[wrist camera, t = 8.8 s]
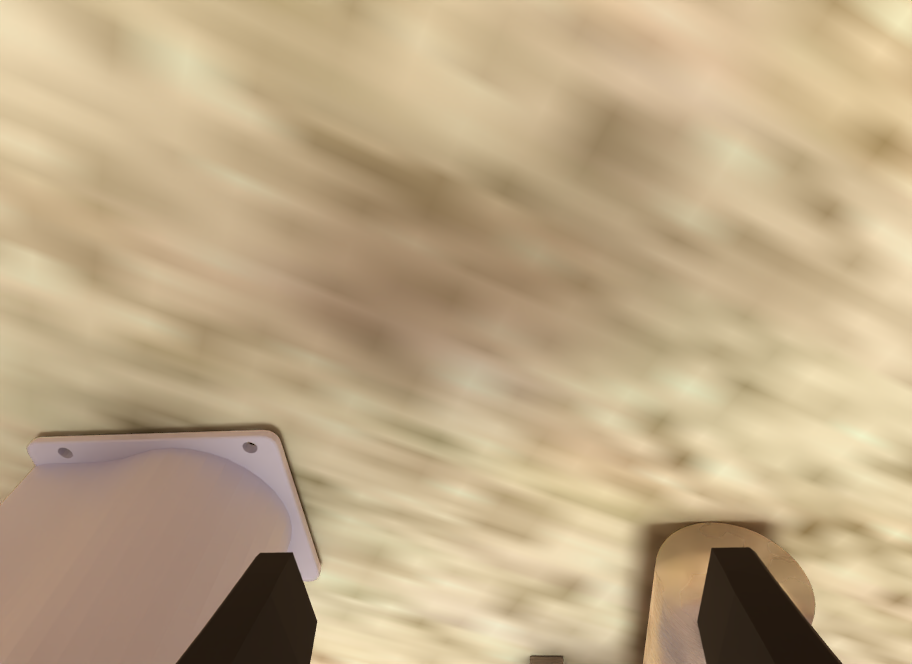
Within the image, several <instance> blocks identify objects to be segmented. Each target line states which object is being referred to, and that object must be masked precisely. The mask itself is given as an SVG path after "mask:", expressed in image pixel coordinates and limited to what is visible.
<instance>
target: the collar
mask: <svg viewBox="0 0 912 664" xmlns="http://www.w3.org/2000/svg"><path fill="white" fill-rule="evenodd" d="M530 664H563V657H540V656H530Z"/></svg>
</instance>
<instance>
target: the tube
mask: <svg viewBox="0 0 912 664" xmlns="http://www.w3.org/2000/svg"><path fill="white" fill-rule="evenodd" d="M728 547H750V548H751V549H752V550H754V551H755V552H756V553H757V555H758V556H759V558H760V559H761V560H762V562H763V563H764V564H765V566H766V567H767V568H768V570H769V571H770V573H771V574H772V575H773V577H774V578H775V579H776V581H777V582H778V583H779V585H780V586H781V587H782V589H783V590H784V591H785V592H786V594H787V595H788V596H789V598H790V599H791V600H792V602H793V603H794V604H795V606H796V607H797V608H798V609H799V611H800V612H801V613H802V614H803V616H804V617H805V618H806V620H807V621H808V622H809V623H810V625H811V624H812V622H813V618H814V614H815V597H814V593H813V589H812V587H811V584H810V582H809V580H808V578H807V576H806V574H805V573H804V571H803V570H802V568H801V567H800V566H799V564H798V563H797V562H796V561H795V560H794V559H793V558H792V557H791V556H790V555H789V554H788V553H787V552H786V551H785V550H784V549H782V548H781V547H780V546H778V545H777V544H776V543H774V542H773V541H771V540H769V539H768V538H766V537H764V536H762V535H760V534H758V533H756V532H754V531H751V530H749V529H746V528H743V527H740V526H736V525H731V524H726V523H714V522H708V523H698V524H693V525H690V526H686V527H684V528H682V529H679V530H677V531H676V532H674V533H673V534H671V535H670V536H669V537H668V538H667V539H666V540H665V541H664V543H663V544H662V546H661V547H660V549H659V551H658V554H657V557H656V564H655V572H654V580H653V588H652V596H651V604H650V612H649V620H648V628H647V636H646V644H645V652H644V660H643V664H706V660H705V656H704V651H703V647H702V642H701V637H700V633H699V628H698V624H697V619H698V614H699V609H700V604H701V599H702V594H703V589H704V584H705V579H706V574H707V569H708V563H709V558H710V553H711V548H728Z"/></svg>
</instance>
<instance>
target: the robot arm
mask: <svg viewBox="0 0 912 664" xmlns="http://www.w3.org/2000/svg"><path fill="white" fill-rule="evenodd" d="M248 442H251V443H253V444H255V445H256V446H255V445H251V444H249V443H248ZM27 451H28V454H29V456H30V457H31V459H32V460H33V462H34V464H35V465H36V466H35V467H34V468H33V469H32V470H31V471H30V472H29V473H28V475H27V476H26V477H25V478H24V479H23V480H22V481H21V482H20V483H19V484H18V486H17V487H16V488H15V489H14V490H13V491H12V492H11V493H10V494H9V495H8V497H7V498H6V499H5V500H4V501H3V502H2V503H1V504H0V664H310V660H311V655H312V649H313V643H314V637H315V631H316V625H317V620H316V617H315V614H314V611H313V608H312V605H311V602H310V600H309V597H308V594H307V591H306V588H305V585H304V583H303V581H314V580H316V579H318V577H319V575H320V572H321V566H320V562H319V559H318V556H317V553H316V550H315V547H314V544H313V541H312V538H311V534H310V531H309V528H308V525H307V522H306V519H305V516H304V513H303V509H302V506H301V503H300V500H299V497H298V494H297V491H296V488H295V484H294V481H293V478H292V475H291V472H290V469H289V466H288V463H287V459H286V456H285V453H284V450H283V447H282V444H281V441H280V439H279V437H278V436H277V435H276V434H275V433H273V432H271V431H268V430H243V431H211V432H180V433H148V434H116V435H85V436H53V437H37V438H35V439H34V440H33V441H32V442H31V443H30V444H29V445H28V446H27ZM697 624H698V628H699V633H700V637H701V642H702V647H703V651H704V656H705V660H706V664H842V663H841V661H840V660H839V659H838V658H837V657H836V655H835V654H834V653H833V652H832V651H831V649H830V648H829V647H828V646H827V645H826V643H825V642H824V641H823V640H822V638H821V637H820V636H819V635H818V633H817V632H816V631H815V630H814V628H813V627H812V626H811V625H810V623H809V622H808V621H807V620H806V618H805V617H804V616H803V614H802V613H801V612H800V611H799V609H798V608H797V607H796V606H795V604H794V603H793V602H792V600H791V599H790V598H789V596H788V595H787V594H786V592H785V591H784V590H783V589H782V587H781V586H780V585H779V583H778V582H777V581H776V579H775V578H774V577H773V575H772V574H771V573H770V571H769V570H768V568H767V567H766V566H765V564H764V563H763V562H762V560H761V559H760V558H759V556H758V555H757V553H756V552H755V551H754V550H752V549H751V548H750V547H728V548H711V553H710V558H709V563H708V569H707V574H706V579H705V584H704V589H703V594H702V599H701V604H700V609H699V614H698V619H697Z"/></svg>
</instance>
